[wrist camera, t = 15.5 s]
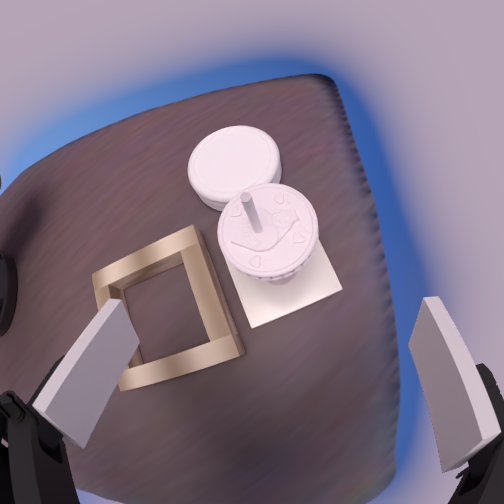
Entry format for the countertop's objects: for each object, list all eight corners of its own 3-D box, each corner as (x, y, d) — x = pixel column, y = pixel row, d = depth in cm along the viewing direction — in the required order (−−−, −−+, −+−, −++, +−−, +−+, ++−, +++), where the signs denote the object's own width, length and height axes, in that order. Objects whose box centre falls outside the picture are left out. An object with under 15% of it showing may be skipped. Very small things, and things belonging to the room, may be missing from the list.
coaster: (278, 138, 32) (276, 118, 29) (284, 210, 29) (282, 194, 26) (199, 148, 34) (190, 130, 30) (193, 218, 31) (181, 205, 27)
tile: (253, 328, 26) (251, 328, 25) (221, 245, 29) (219, 242, 28) (340, 290, 26) (342, 289, 25) (302, 211, 29) (302, 207, 28)
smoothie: (235, 249, 28) (179, 169, 14) (296, 223, 27) (289, 124, 14) (259, 310, 25) (214, 279, 12) (323, 283, 25) (348, 223, 12)
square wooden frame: (136, 388, 26) (120, 391, 23) (107, 280, 30) (91, 274, 27) (246, 353, 25) (239, 355, 23) (202, 235, 30) (192, 224, 27)
